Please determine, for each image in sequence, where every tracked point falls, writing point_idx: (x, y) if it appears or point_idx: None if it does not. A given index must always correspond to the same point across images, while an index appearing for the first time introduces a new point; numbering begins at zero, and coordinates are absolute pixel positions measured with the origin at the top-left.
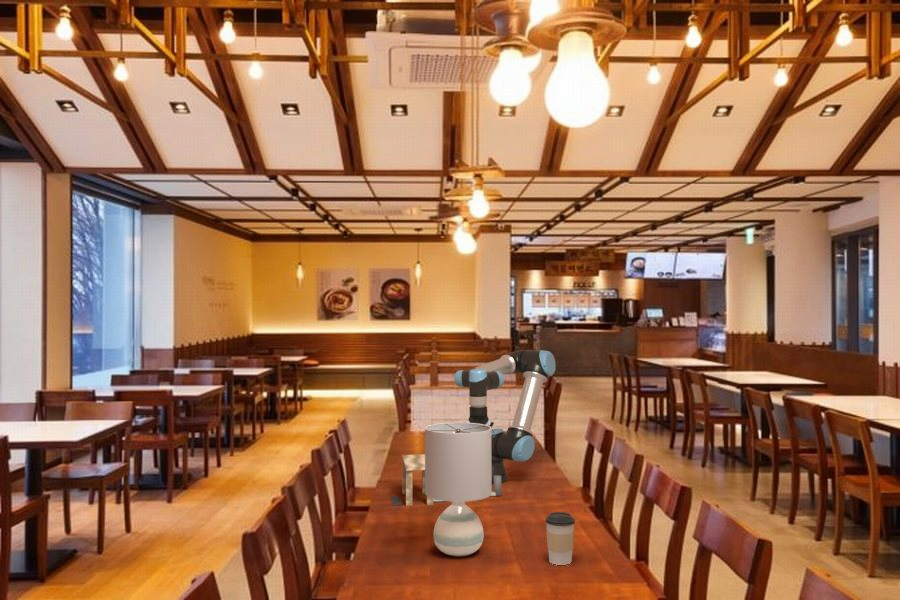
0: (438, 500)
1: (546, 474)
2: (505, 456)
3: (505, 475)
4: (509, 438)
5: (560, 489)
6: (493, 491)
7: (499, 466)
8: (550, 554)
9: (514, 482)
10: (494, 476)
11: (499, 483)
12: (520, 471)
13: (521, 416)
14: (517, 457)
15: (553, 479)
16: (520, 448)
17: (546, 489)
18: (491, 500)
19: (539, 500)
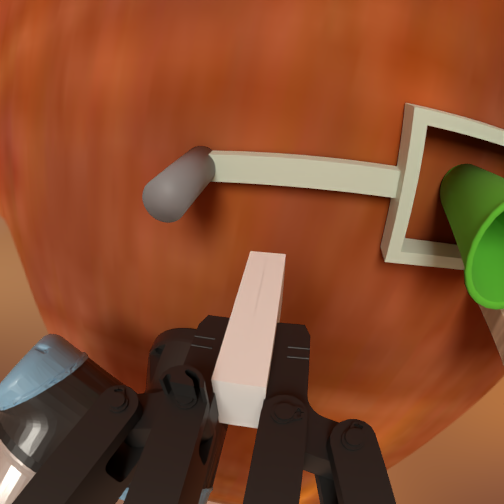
0: (500, 128)
1: None
2: (114, 384)
3: (152, 350)
4: (62, 438)
5: (16, 212)
6: (215, 180)
7: (159, 377)
8: None
9: (132, 318)
10: (182, 192)
11: (171, 165)
12: None
13: (3, 491)
14: (61, 346)
15: (47, 308)
16: (23, 363)
17: (43, 219)
18: (248, 79)
19: (59, 74)
